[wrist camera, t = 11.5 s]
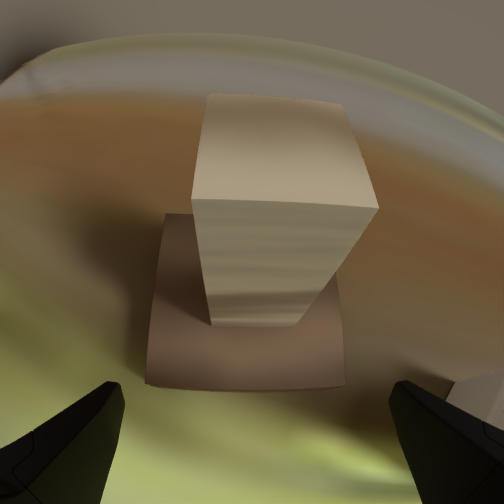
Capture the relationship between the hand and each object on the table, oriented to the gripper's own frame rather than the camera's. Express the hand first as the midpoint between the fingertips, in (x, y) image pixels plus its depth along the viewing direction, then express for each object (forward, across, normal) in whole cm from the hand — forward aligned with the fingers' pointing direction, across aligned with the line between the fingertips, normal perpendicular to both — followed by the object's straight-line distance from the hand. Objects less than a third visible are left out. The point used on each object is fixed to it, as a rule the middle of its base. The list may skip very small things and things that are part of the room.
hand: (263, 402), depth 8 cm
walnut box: (+14, 0, +4) cm, 14 cm away
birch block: (+11, 0, +1) cm, 11 cm away
